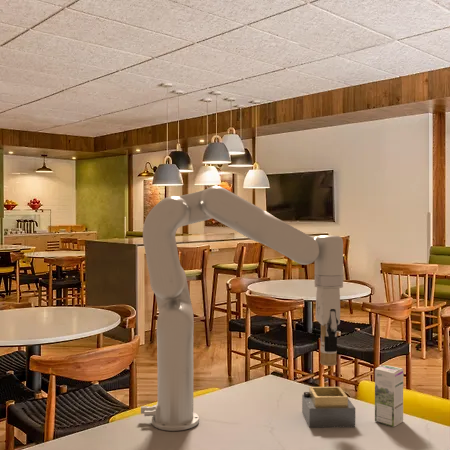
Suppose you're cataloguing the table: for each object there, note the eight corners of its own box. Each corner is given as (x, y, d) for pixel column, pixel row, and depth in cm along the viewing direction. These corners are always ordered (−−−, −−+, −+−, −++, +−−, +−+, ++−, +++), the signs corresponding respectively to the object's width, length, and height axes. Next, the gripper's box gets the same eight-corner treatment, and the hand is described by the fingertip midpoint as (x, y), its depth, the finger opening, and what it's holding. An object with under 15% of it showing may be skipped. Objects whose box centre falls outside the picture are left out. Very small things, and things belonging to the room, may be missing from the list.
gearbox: (309, 427, 142) (309, 399, 142) (302, 412, 153) (302, 385, 153) (355, 427, 143) (355, 398, 143) (344, 411, 154) (345, 385, 154)
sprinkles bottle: (318, 362, 150) (318, 313, 150) (334, 361, 150) (334, 312, 150) (322, 366, 145) (322, 316, 145) (339, 366, 146) (339, 315, 145)
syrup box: (403, 421, 147) (404, 367, 147) (393, 427, 143) (394, 372, 142) (384, 416, 151) (384, 363, 150) (373, 422, 146) (374, 368, 146)
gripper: (309, 277, 156) (308, 341, 156) (321, 285, 139) (321, 357, 139) (335, 277, 156) (335, 341, 156) (350, 285, 139) (350, 357, 139)
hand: (328, 348), depth 148 cm, fingers closed on sprinkles bottle, 4 cm apart
